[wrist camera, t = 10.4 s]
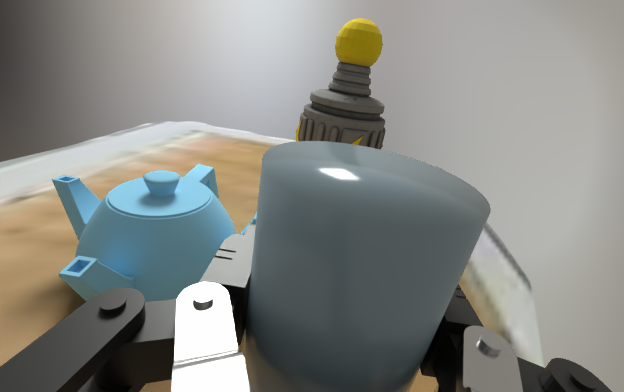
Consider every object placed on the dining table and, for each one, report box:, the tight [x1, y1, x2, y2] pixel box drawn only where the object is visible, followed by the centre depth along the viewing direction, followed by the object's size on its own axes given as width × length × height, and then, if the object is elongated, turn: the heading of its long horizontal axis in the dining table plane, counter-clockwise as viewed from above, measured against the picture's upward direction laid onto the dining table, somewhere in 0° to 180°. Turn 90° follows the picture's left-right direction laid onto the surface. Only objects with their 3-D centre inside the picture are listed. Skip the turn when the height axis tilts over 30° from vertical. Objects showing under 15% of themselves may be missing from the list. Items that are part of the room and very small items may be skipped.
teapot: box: [52, 164, 257, 302], centre depth 28 cm, size 15×15×11 cm
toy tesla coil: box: [296, 19, 385, 150], centre depth 63 cm, size 19×19×30 cm
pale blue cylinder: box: [243, 141, 490, 392], centre depth 10 cm, size 6×6×11 cm
